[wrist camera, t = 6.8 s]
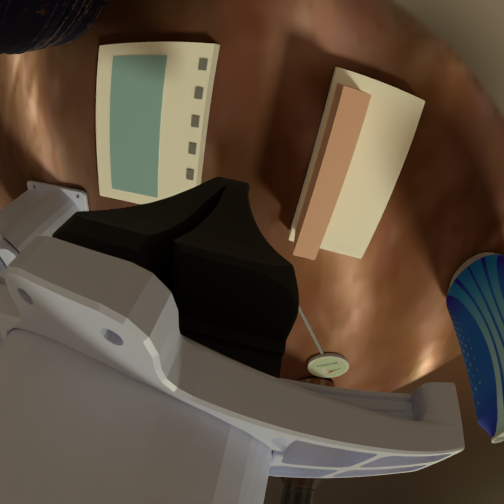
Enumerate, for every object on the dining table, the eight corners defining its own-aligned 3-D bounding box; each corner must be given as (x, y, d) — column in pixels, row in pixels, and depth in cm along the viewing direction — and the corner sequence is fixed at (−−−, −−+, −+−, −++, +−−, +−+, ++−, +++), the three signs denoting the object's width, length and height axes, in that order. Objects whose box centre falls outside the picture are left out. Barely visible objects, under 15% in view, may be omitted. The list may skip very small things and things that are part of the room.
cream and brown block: (289, 231, 23) (285, 265, 19) (335, 67, 15) (343, 66, 11) (359, 250, 23) (365, 284, 19) (418, 98, 15) (444, 108, 11)
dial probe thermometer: (320, 296, 26) (352, 374, 33) (320, 289, 27) (352, 368, 34) (270, 307, 28) (314, 380, 35) (271, 301, 29) (314, 374, 36)
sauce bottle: (337, 374, 35) (327, 519, 19) (334, 393, 38) (323, 518, 22) (288, 374, 36) (266, 516, 20) (291, 393, 40) (272, 516, 24)
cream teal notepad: (107, 189, 23) (99, 195, 22) (108, 45, 15) (98, 45, 14) (198, 209, 23) (193, 216, 22) (219, 44, 15) (214, 43, 14)
